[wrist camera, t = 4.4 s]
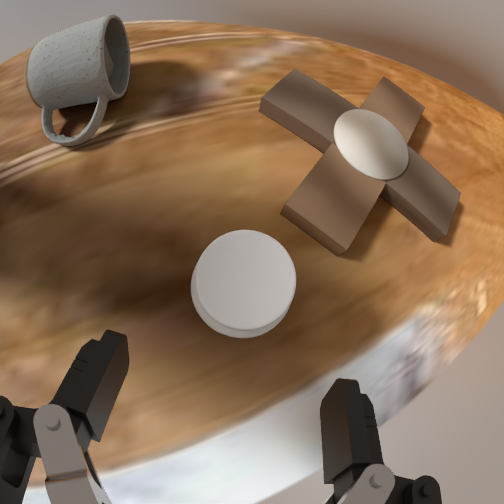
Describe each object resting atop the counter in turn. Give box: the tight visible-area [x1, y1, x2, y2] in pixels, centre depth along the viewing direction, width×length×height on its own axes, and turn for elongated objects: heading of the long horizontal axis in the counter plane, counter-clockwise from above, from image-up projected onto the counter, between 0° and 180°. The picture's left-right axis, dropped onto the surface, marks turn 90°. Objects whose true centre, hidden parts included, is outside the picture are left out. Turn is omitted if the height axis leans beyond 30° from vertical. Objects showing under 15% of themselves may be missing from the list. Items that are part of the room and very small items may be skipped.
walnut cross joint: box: [259, 69, 461, 256], centre depth 23 cm, size 18×18×2 cm
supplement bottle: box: [191, 230, 296, 338], centre depth 16 cm, size 5×5×8 cm
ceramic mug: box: [24, 15, 130, 146], centre depth 19 cm, size 11×8×8 cm
